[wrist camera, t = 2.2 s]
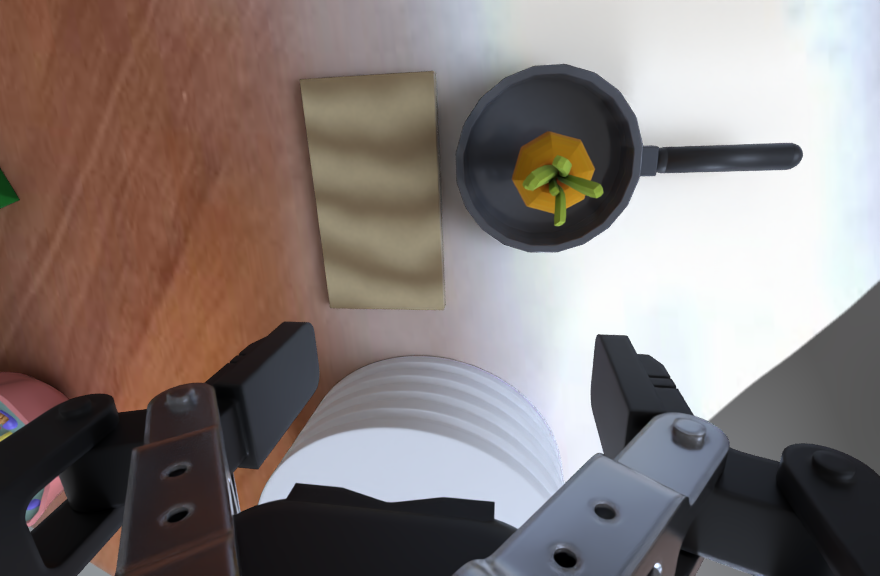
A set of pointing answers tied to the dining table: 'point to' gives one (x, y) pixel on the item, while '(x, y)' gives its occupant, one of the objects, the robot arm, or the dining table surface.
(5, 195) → the milk carton
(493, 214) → the pan
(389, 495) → the plate stack
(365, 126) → the board
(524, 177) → the carrot
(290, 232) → the dining table surface
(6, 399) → the cell model
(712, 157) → the pan handle
